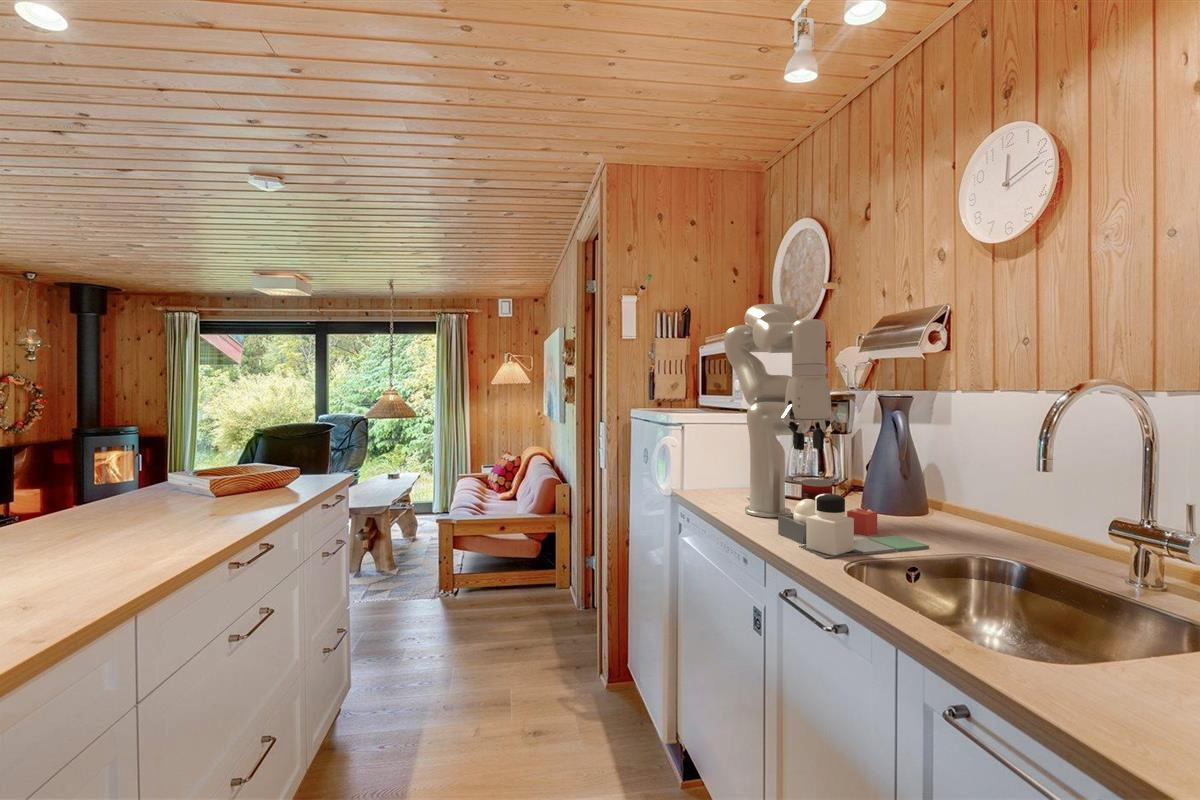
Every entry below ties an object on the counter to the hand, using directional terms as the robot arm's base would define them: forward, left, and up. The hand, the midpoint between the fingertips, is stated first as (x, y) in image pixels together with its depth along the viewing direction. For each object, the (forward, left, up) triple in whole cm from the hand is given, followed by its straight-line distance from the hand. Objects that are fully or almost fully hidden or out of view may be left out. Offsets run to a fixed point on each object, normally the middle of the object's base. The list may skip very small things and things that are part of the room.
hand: (808, 448), depth 136 cm
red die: (-1, +16, -21) cm, 27 cm away
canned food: (-12, +11, -22) cm, 27 cm away
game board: (+11, +6, -21) cm, 25 cm away
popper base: (0, 0, -21) cm, 21 cm away
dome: (0, 0, -19) cm, 19 cm away
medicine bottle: (+11, -2, -21) cm, 24 cm away
